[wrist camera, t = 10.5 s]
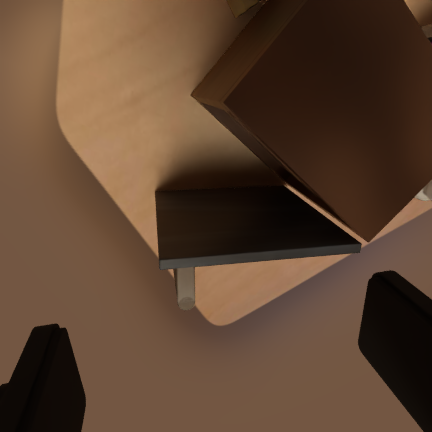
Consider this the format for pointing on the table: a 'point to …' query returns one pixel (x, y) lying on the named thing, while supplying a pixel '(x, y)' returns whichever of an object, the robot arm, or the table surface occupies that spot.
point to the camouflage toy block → (241, 6)
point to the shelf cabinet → (332, 103)
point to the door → (239, 230)
